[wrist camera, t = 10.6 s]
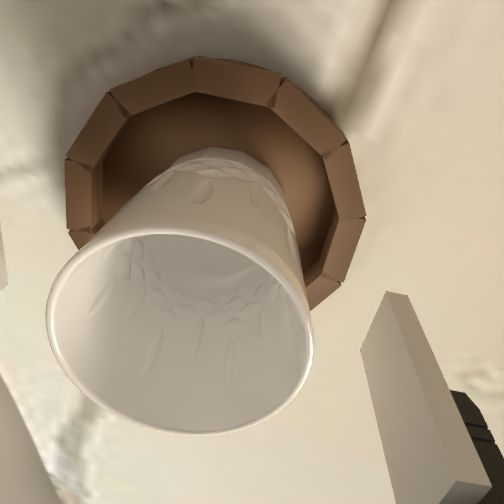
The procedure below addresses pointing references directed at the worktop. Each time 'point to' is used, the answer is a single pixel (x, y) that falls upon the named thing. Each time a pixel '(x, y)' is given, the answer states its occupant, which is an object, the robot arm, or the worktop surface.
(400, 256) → the worktop surface
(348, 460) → the worktop surface
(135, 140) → the ring tray
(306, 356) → the white cup
